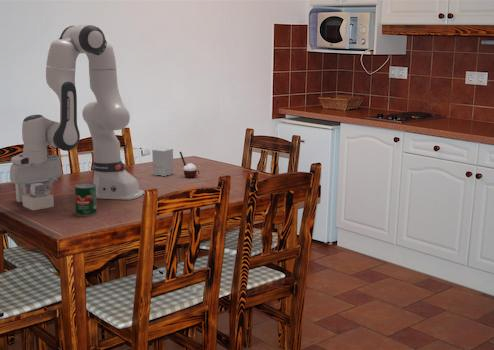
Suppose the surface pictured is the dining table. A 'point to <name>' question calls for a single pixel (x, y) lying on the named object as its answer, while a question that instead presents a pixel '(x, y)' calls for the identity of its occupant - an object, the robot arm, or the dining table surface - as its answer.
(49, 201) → the awning stand
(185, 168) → the cocoa
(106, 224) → the dining table surface
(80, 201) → the canned tomato
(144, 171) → the dining table surface
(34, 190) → the metal peg
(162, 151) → the grey fluted block
